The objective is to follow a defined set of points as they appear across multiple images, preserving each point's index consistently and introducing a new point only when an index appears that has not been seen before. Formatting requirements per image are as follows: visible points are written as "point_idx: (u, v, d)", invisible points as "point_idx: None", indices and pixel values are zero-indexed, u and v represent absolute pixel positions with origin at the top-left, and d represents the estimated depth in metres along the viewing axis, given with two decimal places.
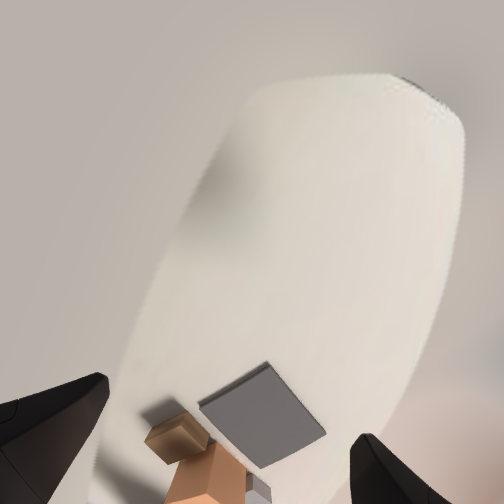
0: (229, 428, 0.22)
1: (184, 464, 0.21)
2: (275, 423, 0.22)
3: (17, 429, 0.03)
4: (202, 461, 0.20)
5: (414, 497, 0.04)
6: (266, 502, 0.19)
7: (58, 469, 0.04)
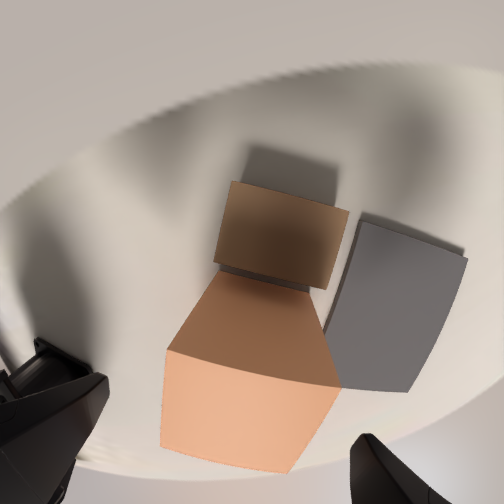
0: (360, 288, 0.14)
1: (231, 286, 0.13)
2: (403, 332, 0.14)
3: (17, 429, 0.03)
4: (286, 306, 0.12)
5: (414, 497, 0.04)
6: None
7: (58, 469, 0.04)
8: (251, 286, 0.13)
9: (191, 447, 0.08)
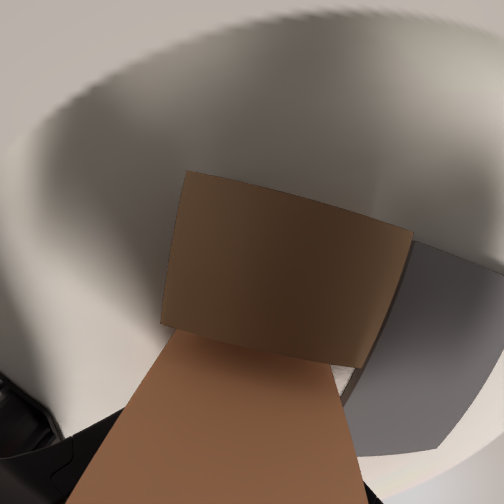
0: (402, 342, 0.08)
1: (198, 355, 0.07)
2: (446, 389, 0.08)
3: (80, 472, 0.03)
4: (290, 394, 0.06)
5: None
6: None
7: None
8: (233, 350, 0.08)
9: None
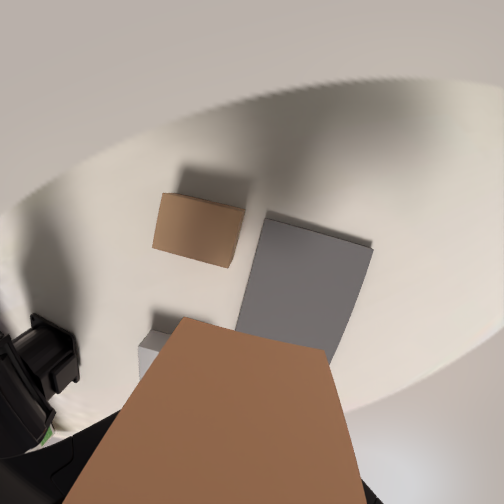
0: (266, 270, 0.19)
1: (197, 354, 0.07)
2: (311, 310, 0.19)
3: (80, 472, 0.03)
4: (289, 393, 0.06)
5: None
6: None
7: None
8: (232, 349, 0.08)
9: None
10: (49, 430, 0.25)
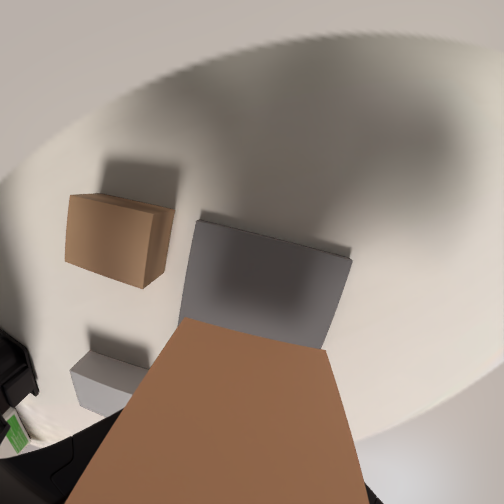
0: (202, 289, 0.14)
1: (198, 355, 0.07)
2: None
3: (80, 472, 0.03)
4: (291, 394, 0.06)
5: None
6: None
7: None
8: (233, 349, 0.08)
9: None
10: (24, 438, 0.21)
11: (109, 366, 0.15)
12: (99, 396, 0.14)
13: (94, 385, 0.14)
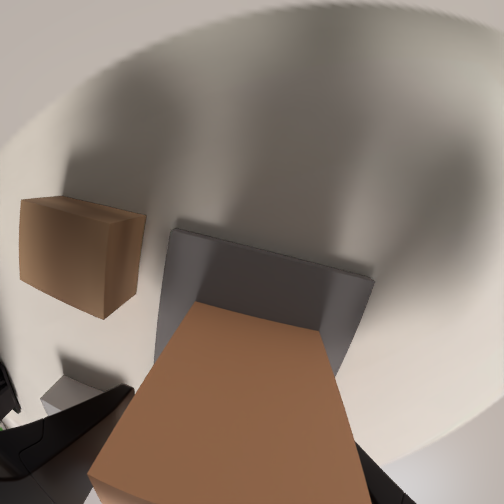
0: (181, 318, 0.11)
1: (209, 331, 0.08)
2: None
3: (47, 451, 0.03)
4: (289, 363, 0.08)
5: (386, 503, 0.04)
6: None
7: (86, 485, 0.04)
8: (239, 328, 0.09)
9: None
10: None
11: (83, 395, 0.12)
12: None
13: None
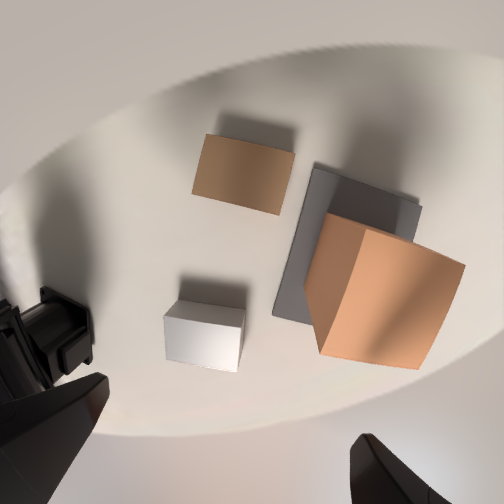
0: (315, 224, 0.17)
1: (348, 219, 0.15)
2: None
3: (17, 429, 0.03)
4: (392, 234, 0.14)
5: (414, 497, 0.04)
6: (232, 365, 0.17)
7: (58, 469, 0.04)
8: None
9: (353, 346, 0.10)
10: None
11: (205, 309, 0.18)
12: (197, 340, 0.17)
13: (193, 326, 0.17)
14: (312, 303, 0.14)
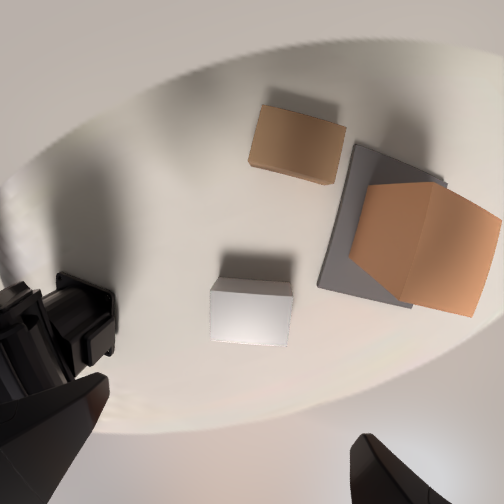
0: (358, 196, 0.17)
1: None
2: None
3: (17, 429, 0.03)
4: None
5: (414, 497, 0.04)
6: (282, 339, 0.17)
7: (58, 469, 0.04)
8: None
9: (425, 291, 0.10)
10: None
11: (250, 283, 0.18)
12: (246, 314, 0.17)
13: (243, 299, 0.16)
14: (370, 265, 0.14)
